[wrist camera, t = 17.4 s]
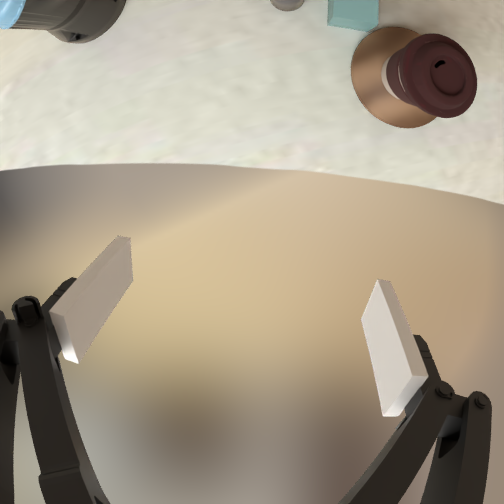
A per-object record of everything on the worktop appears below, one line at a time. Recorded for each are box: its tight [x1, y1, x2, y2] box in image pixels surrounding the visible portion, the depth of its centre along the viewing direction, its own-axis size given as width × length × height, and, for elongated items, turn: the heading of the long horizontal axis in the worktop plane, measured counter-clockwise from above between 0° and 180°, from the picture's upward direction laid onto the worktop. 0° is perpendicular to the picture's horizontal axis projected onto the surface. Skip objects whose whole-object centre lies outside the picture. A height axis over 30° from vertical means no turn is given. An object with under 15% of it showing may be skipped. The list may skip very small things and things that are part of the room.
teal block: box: [327, 0, 379, 32], centre depth 32 cm, size 6×6×6 cm
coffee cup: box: [381, 34, 477, 118], centre depth 31 cm, size 10×10×15 cm
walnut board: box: [351, 27, 437, 128], centre depth 38 cm, size 16×16×1 cm
